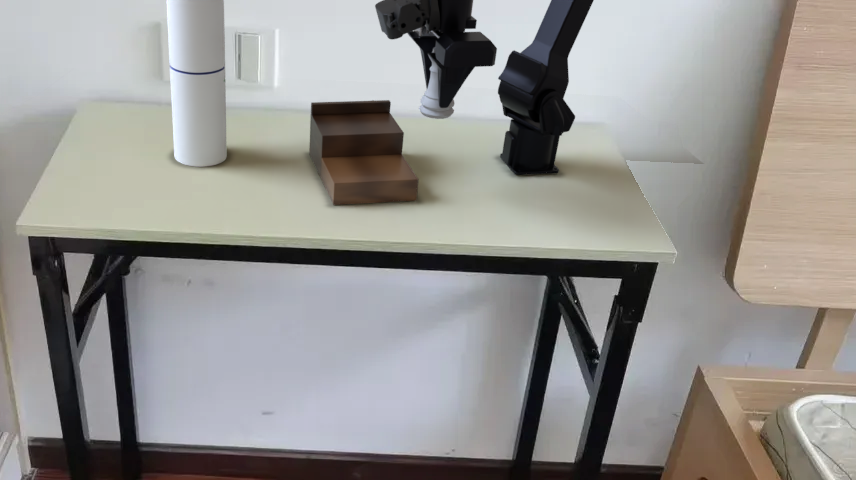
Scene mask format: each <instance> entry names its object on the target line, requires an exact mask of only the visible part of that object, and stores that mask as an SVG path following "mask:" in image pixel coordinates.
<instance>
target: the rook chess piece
mask: <svg viewBox="0 0 856 480" xmlns="http://www.w3.org/2000/svg"><path fill="white" fill-rule="evenodd" d="M432 53H435V47H434V48H433V52H432ZM429 58H430V57H429ZM430 60H431V61H432V66H431V67H430V71H431V75H430V81H429V85H428V88H426V90H425V91H424V94H423V95H422V96H421V98H420V101H419V103H420V105H419V106H418V110H419V112H420V114H421V115H422V116H424V117H426V118H429V119H436V120H444V119H448V118H450V117H451V116H452V115H453V114H454V113H455V109H454V108H453V107H454V106H455V100H454V99H453V100H452V102H451V103H450V105H449V106H448V107H447V108H440V107H439V100H438V67H437V65H436V64H435V62H434V61H433V60H432V59H431V58H430Z"/></svg>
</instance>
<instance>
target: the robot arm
mask: <svg viewBox="0 0 856 480" xmlns="http://www.w3.org/2000/svg"><path fill="white" fill-rule="evenodd" d="M593 3H594V0H550V2H549V4H548V7H547V9H546V12H545V13H544V16H543V18H542V21H541V22H540V25H539V27H538V30H537V32H536V34H535V36H534V38H533V40H532V42H531V44H529V45H528V46H527V47H525V48H524V49H523V50H522V51H521V52H519V51H517V50H515V49H514V50H512V51H511V52H510V53H509V54H508V56H507V61H506V64H505V67H504V68H503V70H502V72H501V73H500V75H499V76H498V78H497V79H498V80H499V85H498V88H497V94H498V96H499V101H500V103H501V106H502V112H503V116H505V117H508V118H510V123H509V129H508V130H505V134H504V139H503V140H504V141H503V146H502V152H501V153H500V154H499V158H500V159H501V160H502V161H503V163H504V164H505V165H506V167H508V169H509V170H510V171H511V172H512V173H513V174H514V175H515V176H527V175H549V174H551V175H552V174H559V171H560V169H559V168H558V166H557V165H556V159H557V152H558V147H559V143H560V136H563V134H564V133H567V132H570V130H571V128H572V126H573V124H574V122H575V119H576V115H575V113H574V112H573V110H572V109H571V108H570V106H569V105H568V104H567V101H565V99H564V98H565V95H566V92H567V90H568V87H569V82H570V79H569V78H570V77H569V76H570V75H569V55H570V53H571V51H572V49H573V47H574V45H575V42H576V41H577V38H578V36H579V34H580V31H581V29H582V28H583V24H584V22H585V20H586V18H587V16H588V14H589V11H590V10H591V7H592V5H593ZM473 7H474V0H381V1H378V2H377V3H376V4H374V8H375V12H376V15H377V19H378V23H379V26H380V30H381V32H382V33H384V35H386V37H387V39H389V40H397V39H400V38H402V37H403V36H404V35H406V34H407V35H408V37H410V38H411V40H412V41H413V42H414V43H415V44H416V46H418V48H419V50H420V55H421V62H422V68H423V72H424V73H423V75H424V81H425V88H426V89H427V88H428V85H429V81H430V75H431V71H430V67H431V66H432V61H431V60H430V58H431V59H432V60H433V61H434V62H435V64H436V65H437V67H438V100H439V107H440V108H447V107H448V106H449V105H450V103H451V102H452V100H454V98H455V97H456V96H457V94H458V92H459V91H460V89H461V88H462V86H463V84H464V83H465V82H466V80H467V79H468V77H469V76H470V74H471V73H472V72H473V70H474V69H475V68H479V67H493V66H495V64H496V58H497V51H498V48H497V46H496V45H495V43H493V41H492V40H491V39H490V38H488V37H487V36H486V35H485V34H484V33H482V32H481V31H466V30H475V29H477V21H478V20H477V19H476V18H475V17H474V16H473V15H472V13H473ZM434 47H435V53H432V52H433V48H434ZM429 57H430V58H429Z"/></svg>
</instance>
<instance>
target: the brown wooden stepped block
mask: <svg viewBox="0 0 856 480" xmlns="http://www.w3.org/2000/svg"><path fill="white" fill-rule="evenodd" d="M391 103H392V102H391V100H389V99H383V100H382V99H381V100H380V99H379V100H355V101H354V100H352V101H351V100H349V101H319V102H318V101H317V102H310V121H309V147H308V148H309V151H308V155H309V157H310V159H311V162H312V163H313V165H314V168H315V169H316V172H317V174H318V176H319V178H320V180H321V182H322V184H323V186H324V188H325V190H326V192H327V195H328V198H329V199H330V201H331V204H332V205H333V206H339V205H342V206H343V205H359V204H360V205H361V204H376V203H393V202H394V203H395V202H399V203H400V202H416V201H417V197H418V188H419V177H418V176H417V175H416V173H415V172H414V170H413V169H412V167H411V166H410V164H409V163H408V161H407V160H406V158H405V156H404V155H403V146H404V135H405V132H404V131H403V130H402V128H401V126H400V125H399V123H398V122H397V121H396V119H395V118H394V117H393V114H391Z"/></svg>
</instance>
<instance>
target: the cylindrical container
mask: <svg viewBox="0 0 856 480" xmlns="http://www.w3.org/2000/svg"><path fill="white" fill-rule="evenodd" d="M165 1H166V2H165V4H166V21H167V22H166V23H167V41H168V58H169V60H168V63H169V79H170V81H169V82H170V98H171V99H170V100H171V116H172V117H171V120H172V138H173V155H174V159H175V160H176V161H177V162H178V163H180V164H182V165H185V166H189V167H197V168H199V167H201V168H202V167H212V166H217V165H219V164H221V163H223V162H224V161H225V160H226V159H227V157H228V156H227V155H228V153H227V152H228V151H227V150H228V149H227V147H228V146H227V102H226V101H227V97H226V95H227V93H226V91H227V89H226V87H227V86H226V50H225V49H226V44H225V43H226V42H225V41H226V40H225V39H226V37H225V0H165Z"/></svg>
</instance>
